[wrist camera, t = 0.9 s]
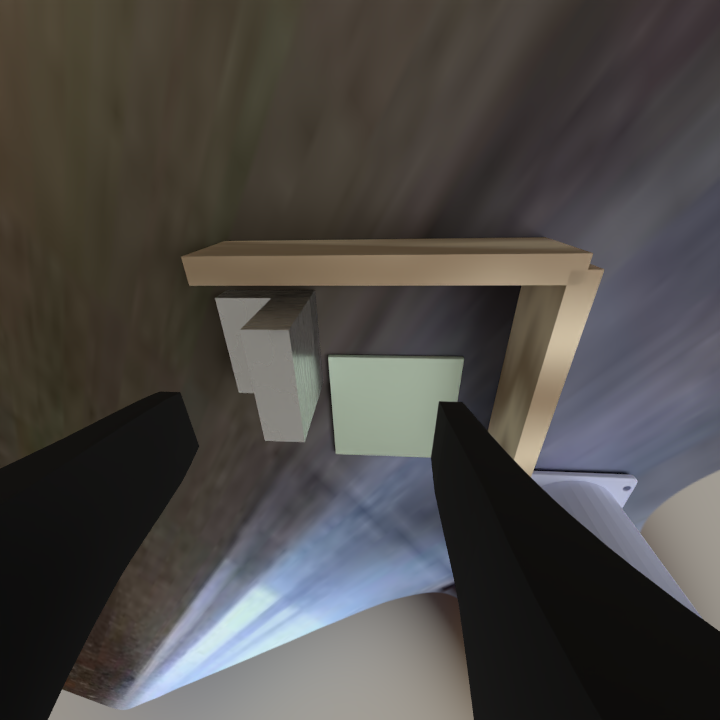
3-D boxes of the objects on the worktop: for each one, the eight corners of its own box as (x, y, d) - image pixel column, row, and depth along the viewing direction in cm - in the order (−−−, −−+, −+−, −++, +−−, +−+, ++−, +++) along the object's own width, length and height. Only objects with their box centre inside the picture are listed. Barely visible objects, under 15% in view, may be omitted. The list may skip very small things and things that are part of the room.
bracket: (323, 381, 20) (304, 442, 16) (248, 379, 21) (206, 438, 16) (315, 289, 17) (288, 330, 13) (227, 289, 18) (169, 329, 13)
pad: (447, 455, 23) (448, 458, 22) (336, 451, 23) (335, 454, 23) (463, 356, 19) (464, 358, 18) (328, 354, 19) (328, 357, 19)
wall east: (539, 262, 16) (582, 285, 12) (229, 264, 17) (189, 285, 13) (545, 237, 15) (593, 253, 12) (224, 241, 16) (181, 256, 13)
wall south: (504, 435, 21) (528, 484, 18) (486, 434, 21) (506, 483, 18) (555, 250, 15) (604, 269, 12) (529, 250, 16) (571, 269, 12)
